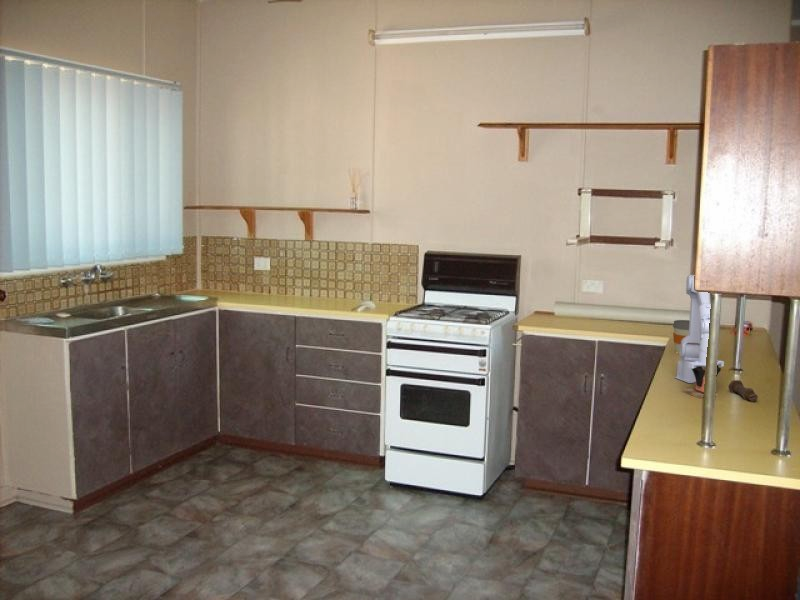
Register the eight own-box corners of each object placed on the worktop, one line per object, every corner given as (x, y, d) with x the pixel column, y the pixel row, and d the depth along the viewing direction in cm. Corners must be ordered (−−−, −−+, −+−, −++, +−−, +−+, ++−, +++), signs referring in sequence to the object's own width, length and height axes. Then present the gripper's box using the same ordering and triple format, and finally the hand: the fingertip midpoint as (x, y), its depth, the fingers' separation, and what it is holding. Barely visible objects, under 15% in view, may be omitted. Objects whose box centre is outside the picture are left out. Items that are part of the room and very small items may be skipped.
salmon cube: (695, 389, 302) (696, 376, 301) (705, 388, 304) (706, 375, 303) (703, 392, 298) (704, 379, 297) (713, 391, 299) (714, 378, 299)
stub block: (682, 391, 307) (683, 381, 306) (699, 390, 310) (700, 379, 309) (699, 398, 298) (700, 387, 297) (717, 397, 300) (718, 386, 300)
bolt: (751, 407, 293) (732, 395, 308) (763, 401, 293) (743, 389, 308) (744, 394, 292) (726, 383, 307) (757, 388, 292) (737, 376, 307)
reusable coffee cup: (703, 355, 374) (705, 324, 372) (677, 355, 374) (679, 324, 372) (692, 350, 387) (694, 320, 385) (667, 350, 386) (669, 319, 384)
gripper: (698, 353, 293) (695, 389, 295) (730, 351, 297) (727, 387, 299) (686, 349, 299) (683, 384, 301) (717, 348, 304) (715, 382, 306)
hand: (704, 385), depth 301 cm, fingers closed on salmon cube, 4 cm apart
